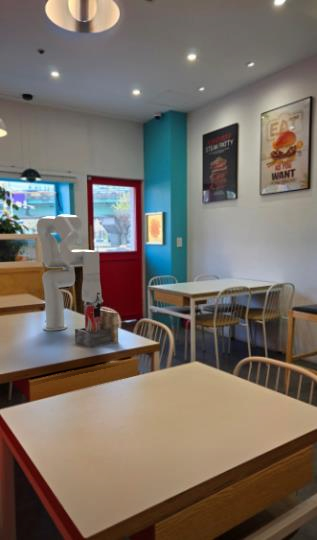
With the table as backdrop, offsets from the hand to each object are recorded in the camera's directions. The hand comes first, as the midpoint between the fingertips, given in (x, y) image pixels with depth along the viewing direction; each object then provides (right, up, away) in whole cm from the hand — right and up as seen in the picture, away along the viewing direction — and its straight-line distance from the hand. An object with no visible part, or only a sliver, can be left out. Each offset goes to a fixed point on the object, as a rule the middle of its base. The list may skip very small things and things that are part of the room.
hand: (92, 315), depth 175 cm
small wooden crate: (+1, -12, +2) cm, 13 cm away
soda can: (0, -8, +1) cm, 8 cm away
